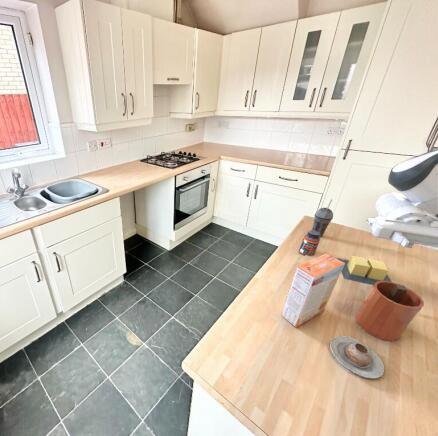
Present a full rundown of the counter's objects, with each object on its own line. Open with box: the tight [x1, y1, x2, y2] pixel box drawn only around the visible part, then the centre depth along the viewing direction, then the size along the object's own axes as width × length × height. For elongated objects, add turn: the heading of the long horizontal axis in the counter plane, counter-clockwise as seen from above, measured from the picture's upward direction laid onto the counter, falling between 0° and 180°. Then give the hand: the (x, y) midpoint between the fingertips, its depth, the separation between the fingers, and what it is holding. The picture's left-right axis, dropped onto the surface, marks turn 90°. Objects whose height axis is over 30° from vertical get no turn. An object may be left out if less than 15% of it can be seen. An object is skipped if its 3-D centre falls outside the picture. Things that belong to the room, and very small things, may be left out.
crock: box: [355, 281, 425, 342], centre depth 73 cm, size 10×10×14 cm
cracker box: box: [280, 253, 345, 328], centre depth 76 cm, size 14×6×21 cm, turn 115°
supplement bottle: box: [298, 229, 321, 257], centre depth 106 cm, size 6×6×11 cm
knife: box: [387, 283, 407, 304], centre depth 72 cm, size 2×5×15 cm, turn 156°
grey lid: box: [329, 335, 385, 379], centre depth 66 cm, size 12×12×5 cm
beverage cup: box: [311, 199, 334, 238], centre depth 116 cm, size 7×7×20 cm
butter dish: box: [336, 257, 393, 286], centre depth 96 cm, size 16×14×1 cm
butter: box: [347, 255, 389, 281], centre depth 95 cm, size 10×6×5 cm, turn 66°
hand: (434, 249), depth 60 cm, fingers open, 8 cm apart
